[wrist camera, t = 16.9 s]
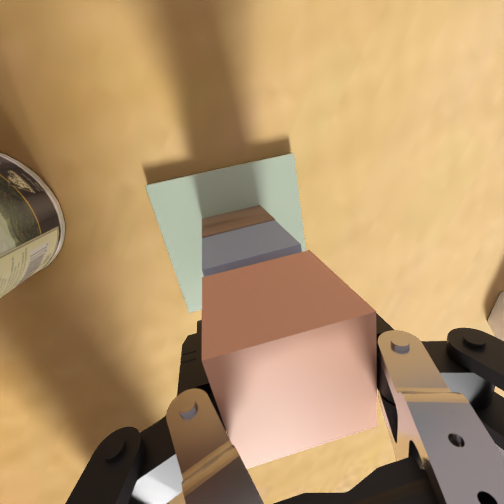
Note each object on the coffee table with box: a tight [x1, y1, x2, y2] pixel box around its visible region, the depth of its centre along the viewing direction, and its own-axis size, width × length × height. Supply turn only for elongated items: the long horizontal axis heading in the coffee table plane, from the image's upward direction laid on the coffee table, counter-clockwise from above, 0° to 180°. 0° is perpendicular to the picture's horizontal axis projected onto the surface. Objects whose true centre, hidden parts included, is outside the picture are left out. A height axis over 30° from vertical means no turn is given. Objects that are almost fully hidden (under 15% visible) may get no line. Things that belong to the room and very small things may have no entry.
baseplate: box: [145, 153, 306, 313], centre depth 23 cm, size 12×12×1 cm
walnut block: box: [202, 205, 275, 238], centre depth 20 cm, size 5×5×5 cm
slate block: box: [202, 220, 302, 277], centre depth 16 cm, size 5×5×5 cm
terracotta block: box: [202, 250, 377, 469], centre depth 10 cm, size 5×5×5 cm
